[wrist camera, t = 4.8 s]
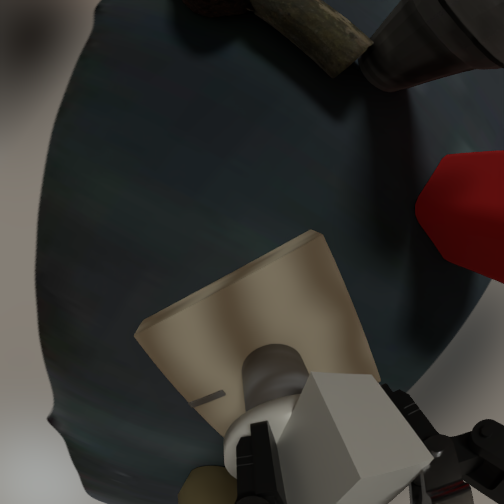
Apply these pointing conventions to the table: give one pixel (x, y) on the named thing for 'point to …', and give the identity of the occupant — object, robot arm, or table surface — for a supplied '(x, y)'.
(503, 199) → the mug
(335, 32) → the morel mushroom
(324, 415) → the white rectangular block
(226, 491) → the squeeze bottle
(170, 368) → the post block
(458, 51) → the beverage cup
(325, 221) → the table surface
